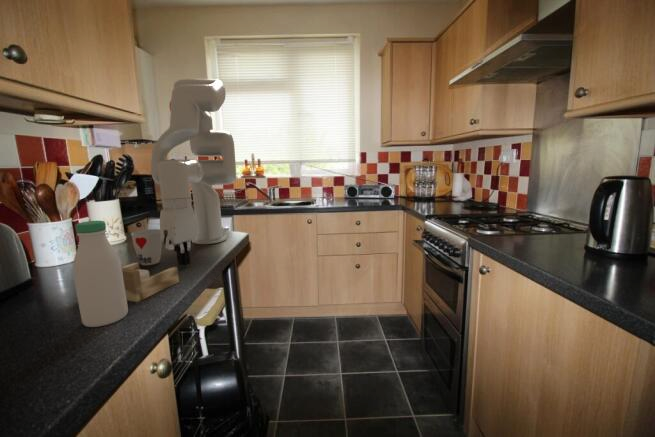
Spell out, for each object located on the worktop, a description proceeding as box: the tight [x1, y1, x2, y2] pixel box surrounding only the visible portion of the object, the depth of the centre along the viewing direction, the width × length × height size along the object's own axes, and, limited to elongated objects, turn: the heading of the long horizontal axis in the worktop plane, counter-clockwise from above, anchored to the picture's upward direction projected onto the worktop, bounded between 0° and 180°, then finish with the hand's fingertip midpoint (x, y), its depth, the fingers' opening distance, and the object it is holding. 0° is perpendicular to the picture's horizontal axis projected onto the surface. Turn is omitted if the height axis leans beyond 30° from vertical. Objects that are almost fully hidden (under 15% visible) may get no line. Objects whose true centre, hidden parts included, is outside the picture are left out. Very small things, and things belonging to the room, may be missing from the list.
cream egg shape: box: [139, 269, 151, 280], centre depth 77 cm, size 7×7×4 cm
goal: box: [121, 262, 180, 303], centre depth 78 cm, size 12×15×7 cm
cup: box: [130, 228, 163, 266], centre depth 97 cm, size 8×8×10 cm
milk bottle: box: [72, 220, 129, 328], centre depth 61 cm, size 8×8×20 cm
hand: (184, 264), depth 93 cm, fingers closed
